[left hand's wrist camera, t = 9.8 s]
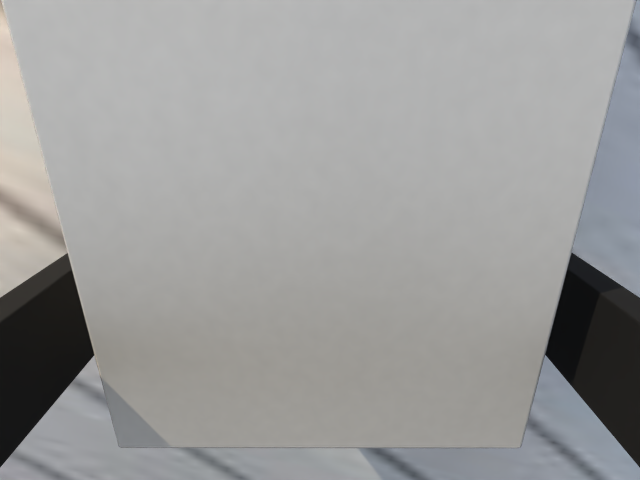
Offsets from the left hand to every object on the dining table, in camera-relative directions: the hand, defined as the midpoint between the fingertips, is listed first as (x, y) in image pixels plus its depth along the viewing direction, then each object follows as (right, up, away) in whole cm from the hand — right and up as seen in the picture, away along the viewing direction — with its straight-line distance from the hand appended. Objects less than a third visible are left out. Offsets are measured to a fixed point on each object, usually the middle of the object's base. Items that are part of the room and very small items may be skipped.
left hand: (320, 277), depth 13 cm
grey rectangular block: (0, +9, +4) cm, 10 cm away
